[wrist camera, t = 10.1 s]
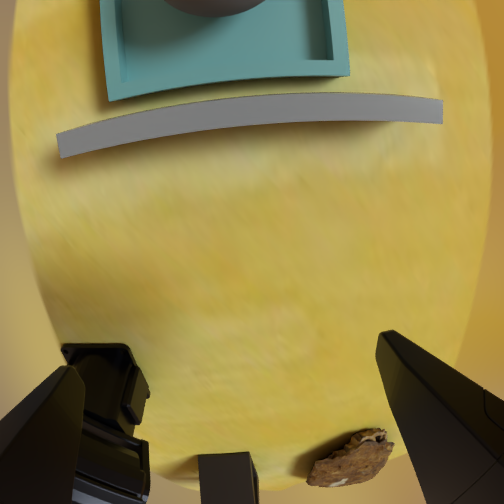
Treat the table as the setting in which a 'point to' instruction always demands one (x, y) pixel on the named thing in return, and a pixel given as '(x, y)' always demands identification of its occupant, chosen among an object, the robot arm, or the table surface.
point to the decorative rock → (353, 461)
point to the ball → (214, 7)
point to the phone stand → (228, 479)
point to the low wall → (248, 116)
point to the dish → (219, 44)
